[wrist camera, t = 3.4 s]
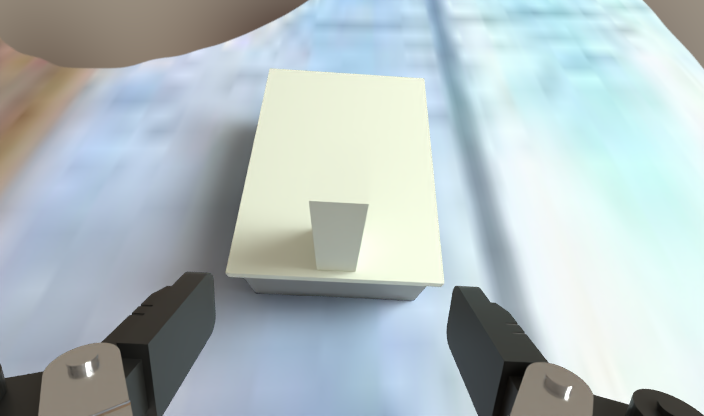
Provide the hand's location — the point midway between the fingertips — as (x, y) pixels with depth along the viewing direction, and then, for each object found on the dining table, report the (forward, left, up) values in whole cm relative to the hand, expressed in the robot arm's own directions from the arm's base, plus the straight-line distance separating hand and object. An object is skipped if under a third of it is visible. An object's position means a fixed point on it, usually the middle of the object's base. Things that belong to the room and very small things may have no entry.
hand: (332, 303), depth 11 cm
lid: (-12, +7, -12) cm, 18 cm away
